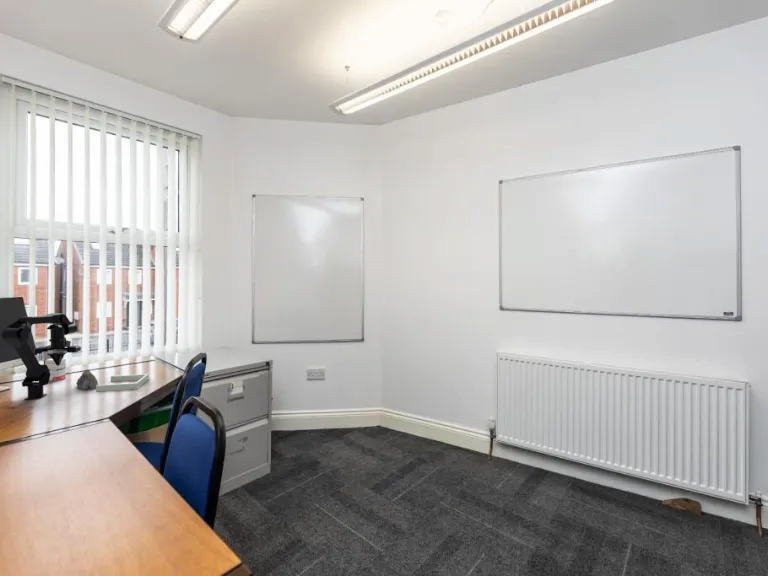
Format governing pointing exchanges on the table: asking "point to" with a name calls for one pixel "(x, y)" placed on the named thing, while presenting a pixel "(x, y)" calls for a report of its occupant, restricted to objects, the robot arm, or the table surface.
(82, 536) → the table surface
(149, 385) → the table surface
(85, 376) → the mineral rock
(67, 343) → the robot arm
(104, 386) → the pale grey u-shaped frame
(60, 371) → the ink box
